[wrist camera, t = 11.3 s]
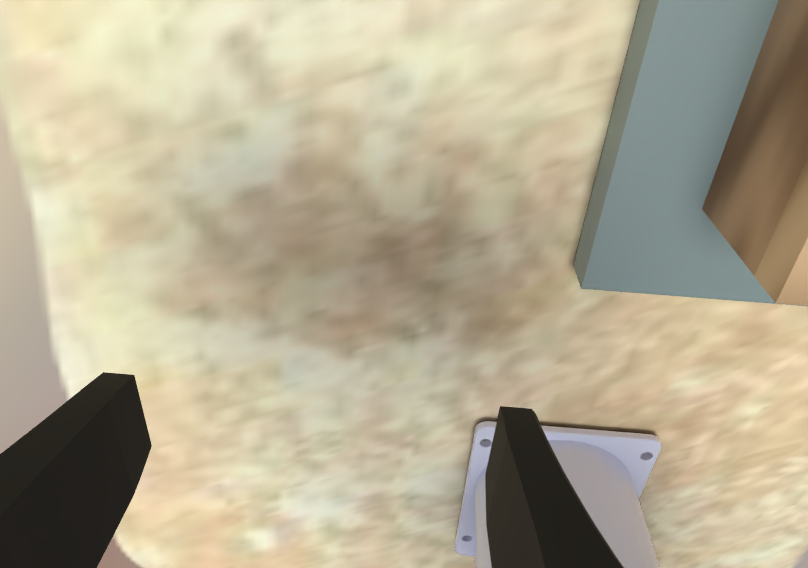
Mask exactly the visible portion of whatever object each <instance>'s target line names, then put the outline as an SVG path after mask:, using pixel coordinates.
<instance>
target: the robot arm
mask: <svg viewBox="0 0 808 568" xmlns="http://www.w3.org/2000/svg"><path fill="white" fill-rule="evenodd" d="M483 439H488V440H485V441H484V440H483ZM661 446H662V445H661V443H660V440H659V438H658V437H657V436H655V435H652V434H641V433H628V432H616V431H603V430H591V429H578V428H566V427H553V426H541V425H540V422H539V420H538V418H537V416H536V414H535V412H534V411H533V410H532V409H526V408H514V407H503V406H500V409H499V414H498V419H497V422H491V421H484V422H481V423H479V424H478V425H477V426H476V428H475V433H474V438H473V444H472V450H471V455H470V461H469V466H468V472H467V478H466V483H465V489H464V494H463V500H462V506H461V511H460V517H459V522H458V528H457V534H456V539H455V551H456V552H457V553H458V554H460V555H466V556H475V568H660V566H659V562H658V559H657V556H656V553H655V550H654V547H653V543H652V540H651V537H650V534H649V531H648V528H647V524H646V521H645V518H644V515H643V512H642V508H641V505H640V502H639V498H640V496H641V493H642V491H643V489H644V487H645V484H646V482H647V480H648V477H649V475H650V473H651V471H652V468H653V466H654V464H655V461H656V459H657V457H658V455H659V452H660V450H661ZM150 449H151V441H150V437H149V433H148V429H147V425H146V421H145V417H144V413H143V409H142V405H141V401H140V397H139V393H138V389H137V385H136V381H135V377H134V375H127V374H115V373H104V372H103V373H102V374H101V375H100V376H98V377H97V378H96V379H94V380H93V381H92V382H91V383H89V384H88V385H87V386H86V387H84V388H83V389H82V390H81V391H79V392H78V393H77V394H76V395H74V396H73V397H72V398H71V399H69V400H68V401H67V402H66V403H65V404H63V405H62V406H61V407H60V408H58V409H57V410H56V411H55V412H53V413H52V414H51V415H50V416H48V417H47V418H46V419H45V420H43V421H42V422H41V423H40V424H38V425H37V426H36V427H35V428H33V429H32V430H31V431H29V432H28V433H27V434H26V435H24V436H23V437H22V438H20V439H19V440H18V441H17V442H15V443H14V444H13V445H11V446H10V447H9V448H8V449H6V450H5V451H4V452H3V453H1V454H0V568H97V566H98V564H99V562H100V560H101V558H102V556H103V554H104V552H105V550H106V549H107V546H108V545H109V543H110V541H111V539H112V537H113V535H114V533H115V531H116V529H117V527H118V525H119V523H120V521H121V519H122V517H123V515H124V513H125V511H126V509H127V508H128V505H129V503H130V501H131V499H132V497H133V495H134V493H135V490H136V488H137V485H138V483H139V480H140V477H141V475H142V472H143V469H144V466H145V463H146V460H147V458H148V455H149V452H150ZM645 452H647V453H645Z"/></svg>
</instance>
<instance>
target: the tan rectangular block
mask: <svg viewBox="0 0 808 568" xmlns="http://www.w3.org/2000/svg"><path fill="white" fill-rule="evenodd" d="M702 210H703V211H704V212H705V214H706V215H707V216H708V217H709V219H710V220H711V221H712V223H713V224H714V225H715V226H716V228H717V229H718V230H719V232H720V233H721V234H722V235H723V237H724V238H725V239H726V241H727V242H728V243H729V244H730V246H731V247H732V248H733V249H734V251H735V252H736V253H737V255H738V256H739V257H740V258H741V260H742V261H743V262H744V264H745V265H746V266H747V267H748V269H749V270H750V271H751V273H752V274H753V275H754V276H755V278H756V279H757V280H758V281H759V283H760V284H761V285H762V287H763V288H764V289H765V290H766V292H767V293H768V294H769V296H770V297H771V298H772V299H773V301H774V302H775V303H778V304H792V305H805V306H808V0H779V1H778V3H777V6H776V9H775V12H774V14H773V17H772V20H771V22H770V25H769V28H768V31H767V33H766V36H765V39H764V42H763V44H762V47H761V50H760V52H759V55H758V58H757V61H756V63H755V66H754V69H753V71H752V74H751V77H750V80H749V82H748V85H747V88H746V90H745V93H744V96H743V99H742V101H741V104H740V107H739V110H738V112H737V115H736V118H735V120H734V123H733V126H732V129H731V131H730V134H729V137H728V139H727V142H726V145H725V148H724V150H723V153H722V156H721V158H720V161H719V164H718V167H717V169H716V172H715V175H714V178H713V180H712V183H711V186H710V188H709V191H708V194H707V197H706V199H705V202H704V205H703V207H702Z"/></svg>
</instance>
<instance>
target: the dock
mask: <svg viewBox="0 0 808 568" xmlns="http://www.w3.org/2000/svg"><path fill="white" fill-rule="evenodd" d="M778 1H779V0H641V1H640V5H639V9H638V12H637V16H636V20H635V24H634V28H633V32H632V36H631V40H630V44H629V48H628V52H627V56H626V60H625V64H624V68H623V72H622V76H621V79H620V83H619V87H618V91H617V95H616V99H615V103H614V107H613V111H612V115H611V119H610V123H609V127H608V131H607V135H606V139H605V143H604V146H603V150H602V154H601V158H600V162H599V166H598V170H597V174H596V178H595V182H594V186H593V190H592V194H591V198H590V202H589V206H588V209H587V213H586V217H585V221H584V225H583V229H582V233H581V237H580V241H579V245H578V249H577V253H576V257H575V261H574V265H573V266H574V269H575V271H576V274H577V277H578V280H579V283H580V286H581V289H593V290H606V291H619V292H632V293H645V294H657V295H670V296H683V297H696V298H709V299H722V300H735V301H748V302H761V303H773V304H778V303H775V302H774V301H773V299H772V298H771V297H770V296H769V294H768V293H767V292H766V290H765V289H764V288H763V287H762V285H761V284H760V283H759V281H758V280H757V279H756V278H755V276H754V275H753V274H752V273H751V271H750V270H749V269H748V267H747V266H746V265H745V264H744V262H743V261H742V260H741V258H740V257H739V256H738V255H737V253H736V252H735V251H734V249H733V248H732V247H731V246H730V244H729V243H728V242H727V241H726V239H725V238H724V237H723V235H722V234H721V233H720V232H719V230H718V229H717V228H716V226H715V225H714V224H713V223H712V221H711V220H710V219H709V217H708V216H707V215H706V214H705V212H704V211H703V210H702V207H703V205H704V202H705V199H706V197H707V194H708V191H709V188H710V186H711V183H712V180H713V178H714V175H715V172H716V169H717V167H718V164H719V161H720V158H721V156H722V153H723V150H724V148H725V145H726V142H727V139H728V137H729V134H730V131H731V129H732V126H733V123H734V120H735V118H736V115H737V112H738V110H739V107H740V104H741V101H742V99H743V96H744V93H745V90H746V88H747V85H748V82H749V80H750V77H751V74H752V71H753V69H754V66H755V63H756V61H757V58H758V55H759V52H760V50H761V47H762V44H763V42H764V39H765V36H766V33H767V31H768V28H769V25H770V22H771V20H772V17H773V14H774V12H775V9H776V6H777V3H778ZM786 305H792V304H786ZM799 306H805V305H799Z"/></svg>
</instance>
